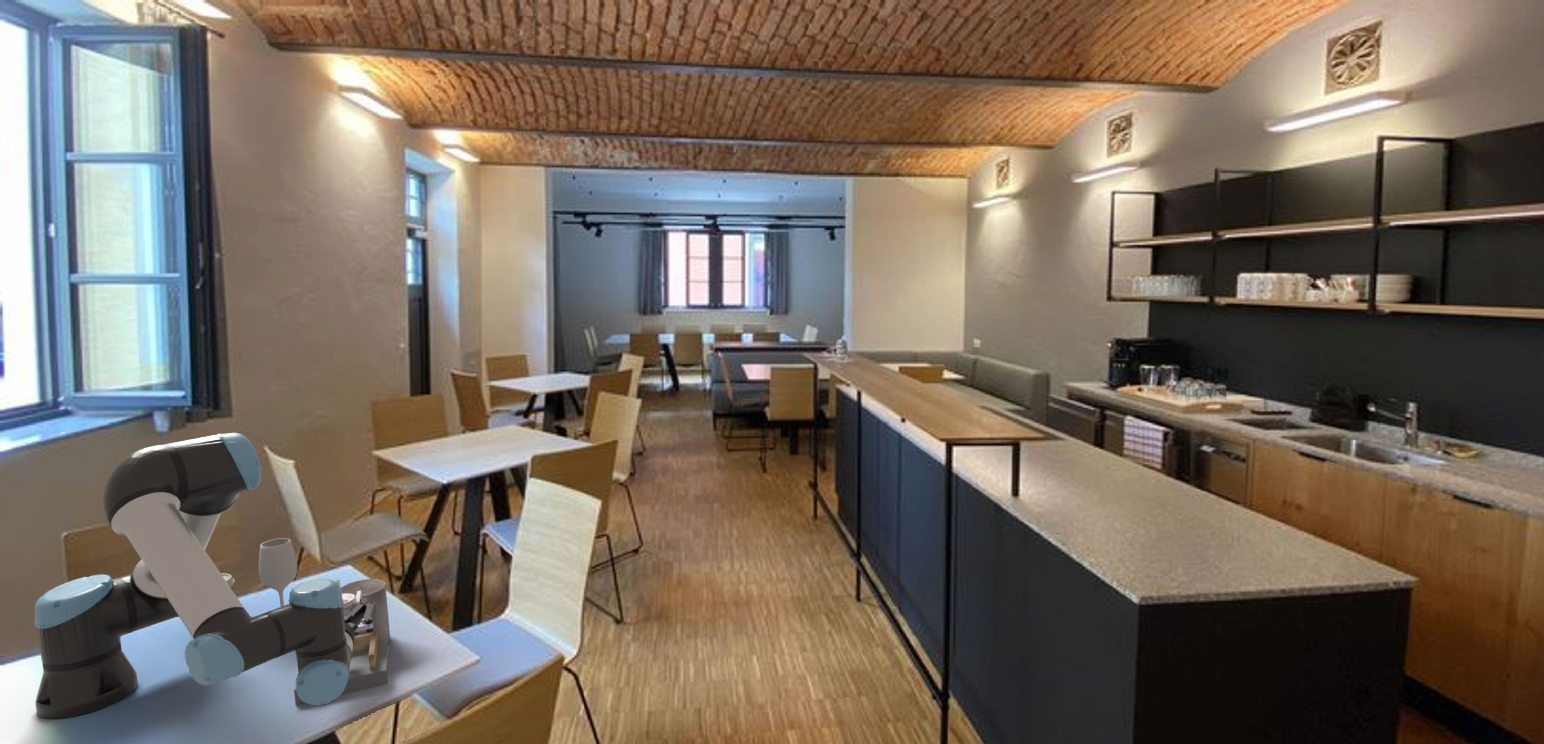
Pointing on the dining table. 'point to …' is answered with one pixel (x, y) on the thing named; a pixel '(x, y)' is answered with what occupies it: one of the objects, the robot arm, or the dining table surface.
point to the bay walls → (367, 646)
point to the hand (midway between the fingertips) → (341, 600)
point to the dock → (364, 671)
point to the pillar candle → (376, 593)
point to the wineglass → (277, 564)
